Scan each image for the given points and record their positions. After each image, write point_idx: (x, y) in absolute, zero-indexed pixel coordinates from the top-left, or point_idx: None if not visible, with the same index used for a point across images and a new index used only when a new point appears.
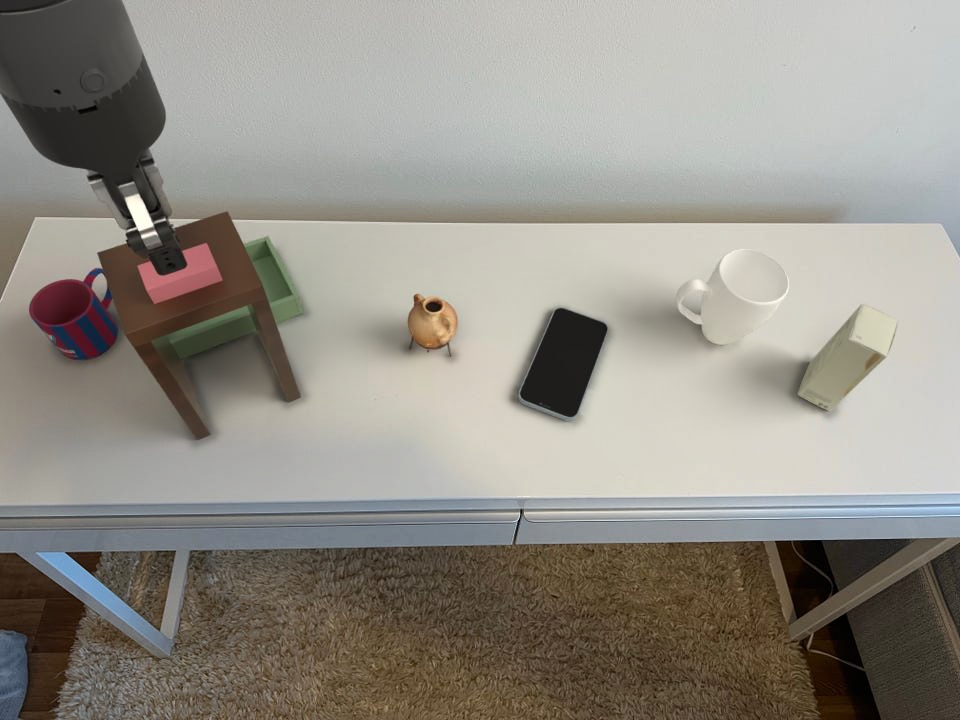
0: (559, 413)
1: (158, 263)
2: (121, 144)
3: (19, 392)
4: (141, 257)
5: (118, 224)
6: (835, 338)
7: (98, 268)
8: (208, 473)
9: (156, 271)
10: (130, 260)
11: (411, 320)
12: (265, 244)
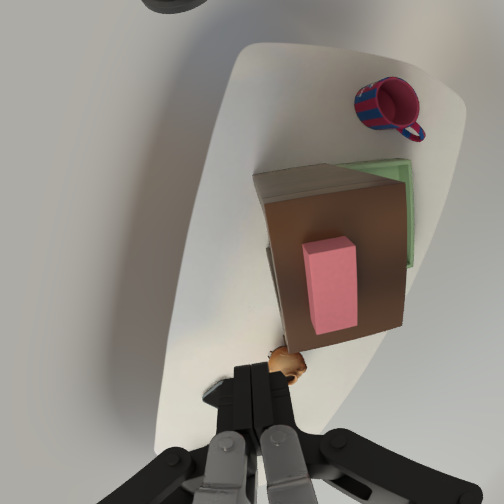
0: (206, 395)
1: (218, 406)
2: None
3: (336, 54)
4: (136, 473)
5: (193, 502)
6: None
7: (424, 136)
8: (220, 180)
9: (234, 372)
10: (381, 220)
11: (288, 359)
12: (408, 261)
